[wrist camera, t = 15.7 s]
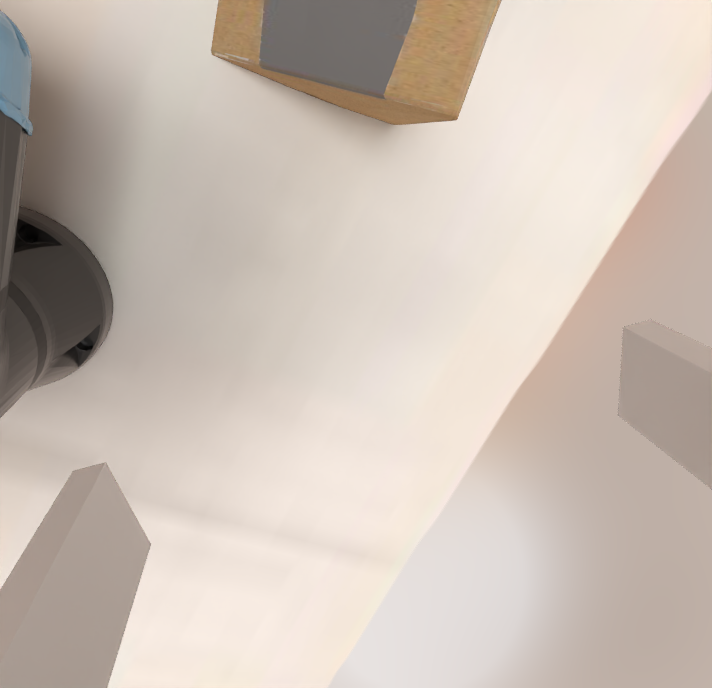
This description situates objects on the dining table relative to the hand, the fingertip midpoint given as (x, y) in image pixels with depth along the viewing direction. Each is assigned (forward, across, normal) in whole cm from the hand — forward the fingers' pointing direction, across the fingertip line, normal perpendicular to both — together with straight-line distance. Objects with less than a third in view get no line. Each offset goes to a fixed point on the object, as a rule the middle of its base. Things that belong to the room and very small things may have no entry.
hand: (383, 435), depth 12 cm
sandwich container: (+32, +5, +14) cm, 35 cm away
